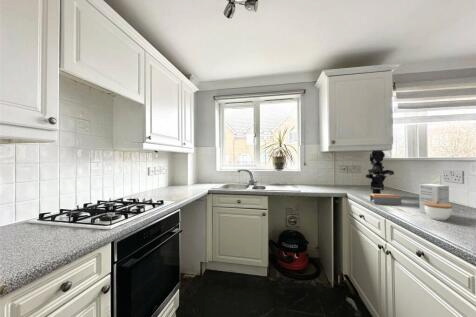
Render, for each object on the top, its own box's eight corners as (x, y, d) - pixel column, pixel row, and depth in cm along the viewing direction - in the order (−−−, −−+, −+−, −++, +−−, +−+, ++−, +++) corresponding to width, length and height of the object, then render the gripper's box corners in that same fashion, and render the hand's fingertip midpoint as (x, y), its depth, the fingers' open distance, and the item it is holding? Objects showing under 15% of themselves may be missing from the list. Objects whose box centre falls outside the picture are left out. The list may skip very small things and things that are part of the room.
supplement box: (430, 211, 123) (430, 183, 123) (449, 215, 114) (449, 185, 114) (418, 212, 120) (418, 183, 120) (437, 216, 111) (437, 185, 111)
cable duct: (370, 201, 151) (370, 194, 151) (395, 202, 146) (395, 195, 146) (374, 203, 143) (374, 196, 143) (401, 205, 138) (401, 198, 138)
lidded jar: (443, 216, 112) (443, 199, 112) (458, 222, 101) (458, 203, 101) (419, 215, 114) (419, 198, 114) (431, 220, 104) (431, 202, 104)
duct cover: (370, 194, 151) (370, 192, 151) (395, 195, 146) (395, 193, 146) (374, 196, 143) (374, 194, 143) (401, 198, 138) (401, 195, 138)
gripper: (359, 166, 164) (361, 186, 159) (381, 160, 146) (384, 182, 142) (370, 169, 166) (372, 187, 162) (393, 163, 149) (396, 184, 145)
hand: (380, 185), depth 152 cm, fingers closed
